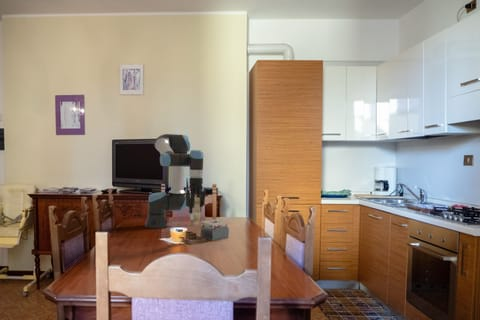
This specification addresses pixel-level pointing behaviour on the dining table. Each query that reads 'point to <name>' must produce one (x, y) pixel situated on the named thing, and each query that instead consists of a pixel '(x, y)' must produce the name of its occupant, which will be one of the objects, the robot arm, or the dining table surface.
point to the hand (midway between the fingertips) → (195, 218)
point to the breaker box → (214, 230)
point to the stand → (190, 234)
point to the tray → (194, 239)
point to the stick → (196, 212)
